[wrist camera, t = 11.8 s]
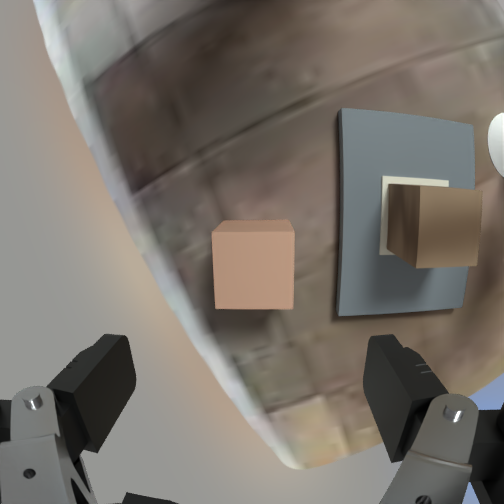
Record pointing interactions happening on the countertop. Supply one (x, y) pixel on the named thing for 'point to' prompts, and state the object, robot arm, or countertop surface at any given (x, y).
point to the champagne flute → (497, 142)
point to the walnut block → (434, 225)
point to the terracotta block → (253, 264)
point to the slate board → (376, 208)
